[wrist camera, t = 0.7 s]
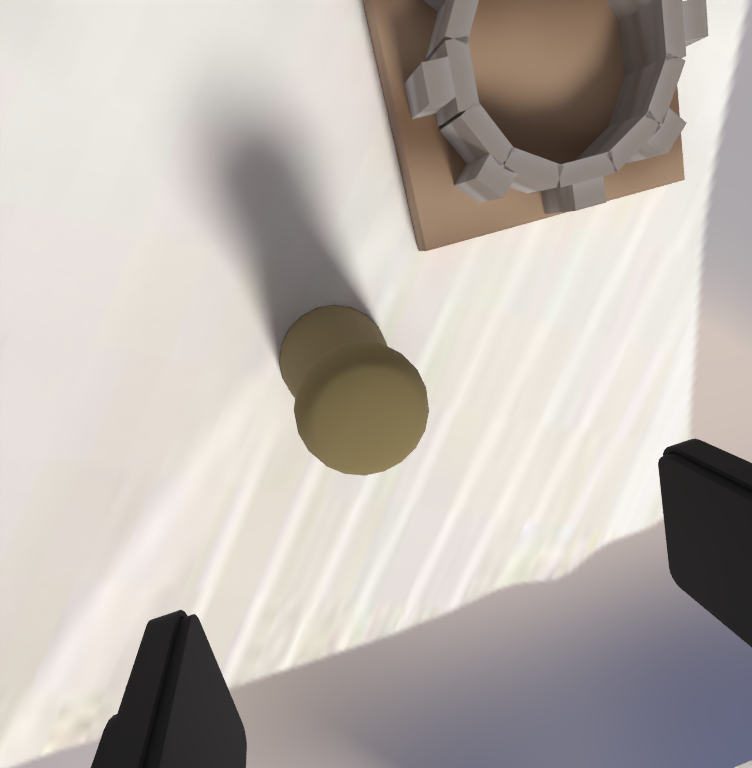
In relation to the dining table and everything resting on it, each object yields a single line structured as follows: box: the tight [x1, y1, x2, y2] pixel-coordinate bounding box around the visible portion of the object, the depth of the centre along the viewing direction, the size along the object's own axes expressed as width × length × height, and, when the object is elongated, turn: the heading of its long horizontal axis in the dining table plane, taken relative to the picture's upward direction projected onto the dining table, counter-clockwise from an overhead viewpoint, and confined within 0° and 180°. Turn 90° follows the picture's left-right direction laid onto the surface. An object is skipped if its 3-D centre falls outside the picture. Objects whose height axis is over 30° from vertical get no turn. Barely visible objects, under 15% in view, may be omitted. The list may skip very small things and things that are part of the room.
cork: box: [279, 305, 429, 475], centre depth 24 cm, size 6×6×11 cm
